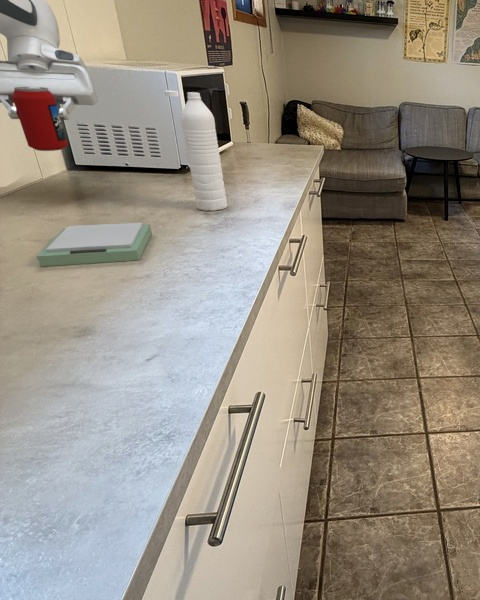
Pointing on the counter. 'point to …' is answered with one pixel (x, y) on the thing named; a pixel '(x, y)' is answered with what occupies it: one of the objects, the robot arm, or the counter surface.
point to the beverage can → (39, 118)
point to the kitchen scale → (96, 244)
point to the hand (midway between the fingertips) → (39, 117)
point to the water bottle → (202, 153)
